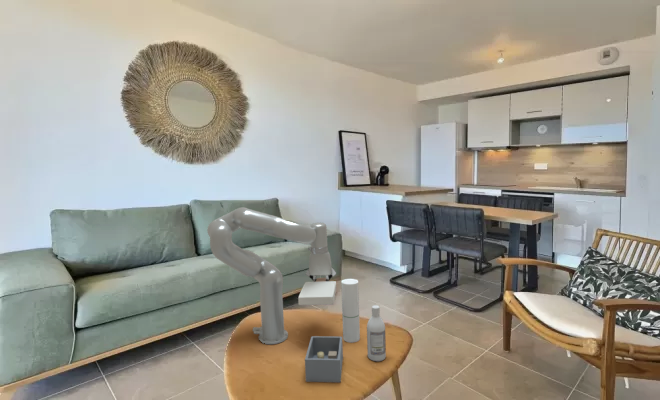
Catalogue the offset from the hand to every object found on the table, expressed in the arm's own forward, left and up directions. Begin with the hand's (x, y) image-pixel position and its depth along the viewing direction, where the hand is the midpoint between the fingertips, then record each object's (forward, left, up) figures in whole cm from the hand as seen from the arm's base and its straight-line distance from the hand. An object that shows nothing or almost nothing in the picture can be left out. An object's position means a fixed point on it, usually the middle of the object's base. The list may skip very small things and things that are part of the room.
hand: (321, 288), depth 157 cm
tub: (+4, -34, -18) cm, 39 cm away
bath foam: (+23, -26, -18) cm, 39 cm away
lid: (0, -10, +1) cm, 10 cm away
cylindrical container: (+13, -12, -18) cm, 25 cm away
